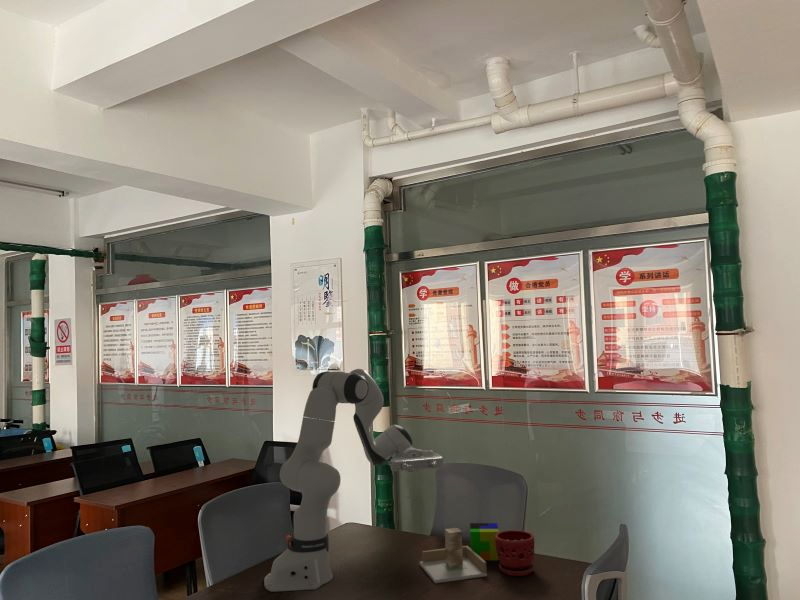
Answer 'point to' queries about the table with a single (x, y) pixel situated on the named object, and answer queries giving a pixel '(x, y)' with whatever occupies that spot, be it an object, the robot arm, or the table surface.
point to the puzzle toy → (484, 540)
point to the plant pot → (515, 552)
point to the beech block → (453, 548)
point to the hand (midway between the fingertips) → (422, 467)
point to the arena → (442, 573)
